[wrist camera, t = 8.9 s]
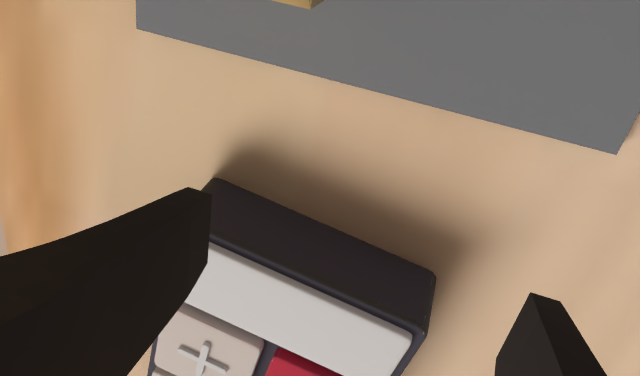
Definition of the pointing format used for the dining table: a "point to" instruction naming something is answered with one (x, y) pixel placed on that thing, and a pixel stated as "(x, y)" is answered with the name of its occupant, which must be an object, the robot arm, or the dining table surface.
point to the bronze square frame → (301, 3)
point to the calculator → (293, 299)
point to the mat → (445, 54)
